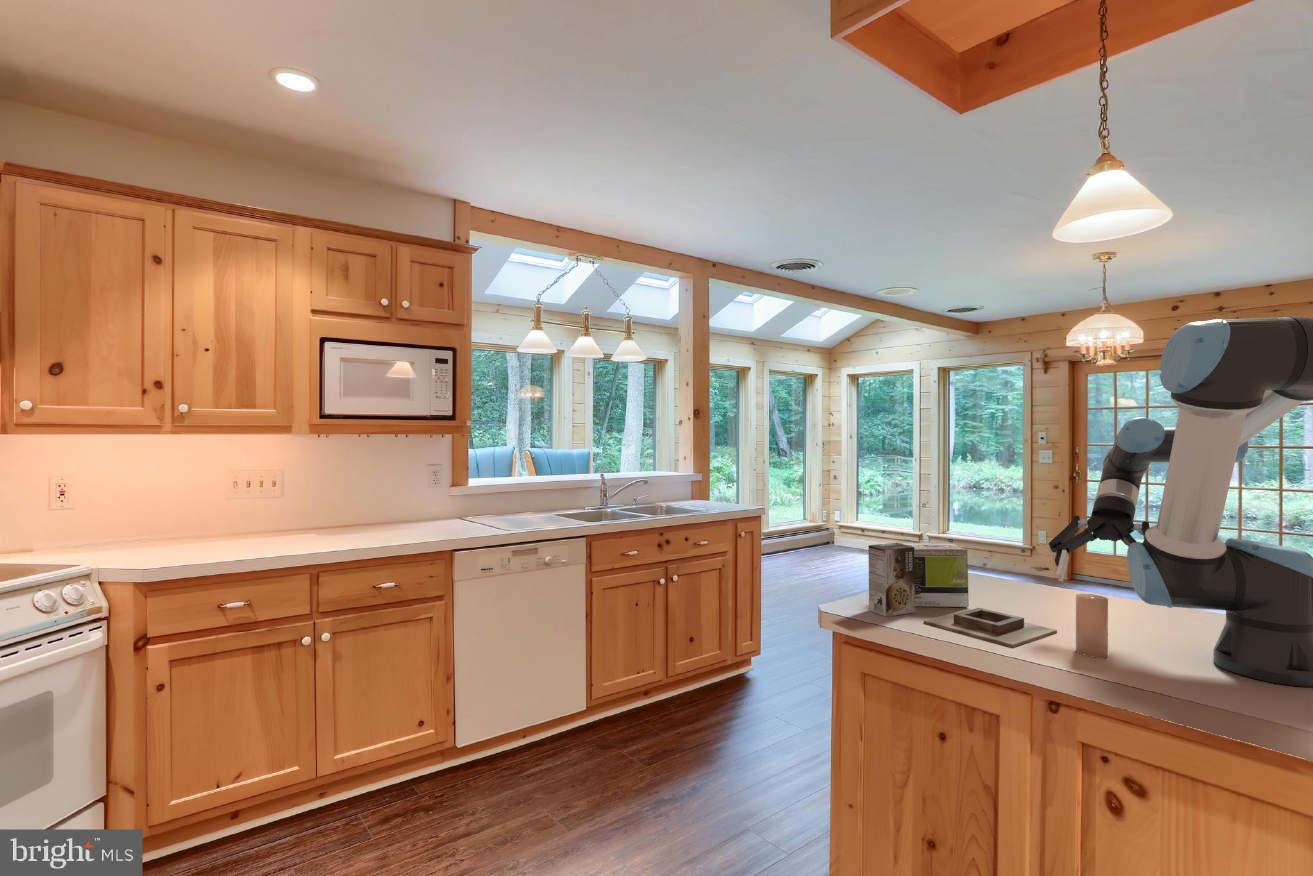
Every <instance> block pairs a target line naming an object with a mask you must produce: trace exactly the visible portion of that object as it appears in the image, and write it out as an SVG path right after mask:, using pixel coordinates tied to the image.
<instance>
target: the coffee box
mask: <svg viewBox="0 0 1313 876" xmlns="http://www.w3.org/2000/svg"><path fill="white" fill-rule="evenodd" d="M900 543H901V542H893V543H892V542H890V543H880V544H871V545H870V544H869V545H868V611H870V612H871V613H872V612H873V613H875V614H878V615H880V616H883V617H894V616H900V615H907V614H914V613H916V606H915V560H914V547H912V546H908V545H905V544H900Z"/></svg>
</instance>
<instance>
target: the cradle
mask: <svg viewBox="0 0 1313 876" xmlns="http://www.w3.org/2000/svg"><path fill="white" fill-rule="evenodd" d="M922 623H923V624H926V625H930V626H933V627H936V628H941V629H944V630H947V631H950V632H955V633H958V634H962V635H966V636H969V637H971V638H972V637H973V638H976V639H979V640H983V641H987V642H991V643H995V644H999V645H1002V646H1006V647H1008V648H1016V647H1019V646H1022V645H1025V644H1027V643H1028V644H1029V643H1031V642H1033V641H1037V640H1039V639H1042V638H1045V636H1046V637H1049V636H1051V635H1055V634H1057V633H1058V631H1057V629H1054V628H1050V627H1046V626H1042V625H1038V624H1037V625H1036V624H1033V623H1029V622H1025V617H1020V616H1016V615H1012V614H1008V613H1004V612H1000V611H994V610H992V609H991V610H990V609H987V608H981V607H976V608H972V609H971V608H967V609H963V610H959V611H955V612H951V613H946V614H943V615H939V616H936V617H932V618H928V619H925V620H923V622H922Z"/></svg>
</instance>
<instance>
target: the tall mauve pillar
mask: <svg viewBox="0 0 1313 876" xmlns="http://www.w3.org/2000/svg"><path fill="white" fill-rule="evenodd" d="M1076 651H1077V653H1078V654H1080V653H1081V654H1080V655H1083V654H1085V655H1084V656H1086V655H1087V657H1091V656H1092V657H1091V658H1101V659H1102V658H1107V657H1109V599H1108V597H1106V596H1103V595H1098V594H1094V593H1093V594H1092V593H1077V594H1075V652H1076Z"/></svg>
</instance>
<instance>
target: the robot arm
mask: <svg viewBox="0 0 1313 876" xmlns="http://www.w3.org/2000/svg"><path fill="white" fill-rule="evenodd" d="M1159 370H1160V375H1159V379H1160V383H1161V385H1162V387H1163V388H1164V389H1165V390H1166V391H1168V392H1170V397H1169V398H1170V399H1171V400H1172V401H1173V402H1174V403H1175V405H1177V406H1178V407H1179V410H1178V414H1177V418H1176V425H1175V427H1164V426H1163V425H1162V424H1161V423H1160V422H1159V421H1157V420H1155V419H1149V418H1147V417H1144V416H1143V417H1140V416H1139V417H1138V416H1137V417H1134V418H1131V419H1129V420H1127V421H1125V423H1124V424H1123V426H1122V427H1120V430H1119V431H1118V433H1117V435H1116V437H1115V440H1114V443H1113V446H1112V448H1110V449H1109V450H1108V451H1107V453H1106V455H1105V458H1104V460H1103V464H1102V472H1101V475H1100V479H1099V483H1098V486H1097V490H1096V493H1095V494H1096V495H1095V498H1094V503H1093V508H1092V511H1091V514H1090V515H1091V516H1090V517H1089V518H1088V519H1087V518H1086V519H1085V518H1080V517H1081V516H1080V515H1078V514H1077V515H1073V517H1072V519H1071V522H1070V523H1069V524H1067V526H1066V527H1064V528H1063V529H1062V530H1061V531H1060V532H1059V533H1058V534H1056V536H1055V537H1054V538H1052V540H1051V541H1049V543H1048V546H1049V549H1050V551H1051V552H1052V553H1055V557H1054V563H1055V565H1056V567H1057V570H1056V572H1055V575H1056V578H1057V580H1058V582H1061V583H1063V582H1064V579H1065V575H1066V571H1067V567H1068V563H1069V560H1070V556H1069V554H1070V553H1072V552H1073V551H1075V550H1076V549H1079V548H1080V547H1082V546H1084V545H1086V544H1087V543H1089V542H1094V541H1096V540H1097V539H1099V540H1100V541H1111V542H1118V541H1121V542H1123V544H1125V546H1127V547H1128V548H1127V552H1126V564H1127V572H1128V574H1129V578H1130V582H1131V584H1132V587H1133V590H1134V592H1135V594H1137V597H1138V598H1140V599H1141V601H1143V602H1144V603H1146V604H1148V605H1151V606H1162V607H1167V608H1170V609H1171V608H1182V609H1183V608H1186V609H1198V610H1199V609H1200V610H1201V609H1202V610H1214V611H1225V623H1224V625H1223V628H1222V630H1221V632H1220V634H1219V637H1218V639H1217V641H1216V643H1215V645H1214V647H1213V651H1212V652H1213V654H1212V655H1213V658H1212V659H1213V663H1214V664H1215V665H1216V666H1218V667H1220V668H1221V669H1223V670H1226V671H1229V672H1231V673H1234V674H1237V675H1239V676H1243V677H1247V678H1251V679H1255V680H1259V681H1264V682H1268V683H1274V684H1280V685H1286V686H1287V685H1288V686H1295V687H1306V688H1307V687H1308V688H1310V687H1311V688H1313V556H1312V555H1311V554H1310V553H1309V552H1307V551H1305V550H1302V549H1298V548H1295V547H1294V548H1293V547H1289V546H1284V545H1279V544H1274V543H1268V542H1262V541H1257V540H1256V541H1255V540H1249V539H1243V538H1242V539H1241V538H1231V537H1229V538H1227V539H1226V541H1225V542H1224V541H1223V540H1222V539H1221V538H1220V537H1219V533H1220V527H1221V523H1222V519H1223V514H1224V511H1225V507H1226V503H1227V498H1228V493H1229V490H1230V485H1231V481H1232V477H1233V472H1234V467H1235V464H1236V463H1239V462H1241V461H1242V460H1244V459H1245V458H1246V454H1247V453H1248V450H1249V441H1250V440H1251V439H1252V438H1254V437H1256V436H1257V435H1259V434H1260V433H1261V432H1262V431H1264V430H1266V429H1267V428H1269V426H1271V425H1272V424H1274V423H1275V422H1276V421H1278V420H1279V419H1281V418H1282V417H1284V416H1285V415H1287V414H1288V413H1289V412H1291V411H1293V410H1294V409H1295V408H1296V407H1298V406H1299V405H1301V404H1302V403H1304V402H1311V401H1313V317H1309V316H1302V315H1298V316H1297V315H1295V316H1294V315H1293V316H1292V315H1291V316H1283V317H1262V318H1261V317H1257V318H1253V317H1251V318H1232V319H1231V318H1229V319H1223V318H1222V319H1220V318H1215V319H1212V320H1206V321H1205V320H1204V321H1194V322H1189V323H1186V324H1184V325H1182V326H1180V327H1179V328H1177V330H1176V331H1175V332H1174V333H1172V335H1171V336H1170V338H1169V339H1168V341H1167V343H1166V344H1165V346H1164V349H1163V352H1162V354H1161V358H1160V364H1159ZM1151 463H1168V466H1167V472H1166V477H1165V482H1164V487H1163V492H1162V497H1161V503H1160V507H1159V513H1158V518H1157V524H1156V525H1153V526H1151V525H1150V523H1149V521H1146V520H1144V521H1142V522H1141V523H1134V520H1135V516H1136V515H1135V514H1136V508H1137V505H1138V500H1139V496H1140V495H1139V494H1140V488H1141V484H1142V481H1143V477H1144V475H1145V473H1146V471H1147V470H1148V468H1149V466H1150V465H1151ZM1085 526H1086V527H1085ZM1084 527H1085V528H1084ZM1083 528H1084V529H1083ZM1082 529H1083V531H1081V532H1079V531H1080V530H1082ZM1134 531H1137V532H1138V534H1140V535H1141V536H1143V541H1142V542H1140V541H1137V540H1136V539H1135V538H1134V537H1133V536H1132V535H1131V534H1132V533H1133V532H1134ZM1077 533H1078V534H1077Z"/></svg>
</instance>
